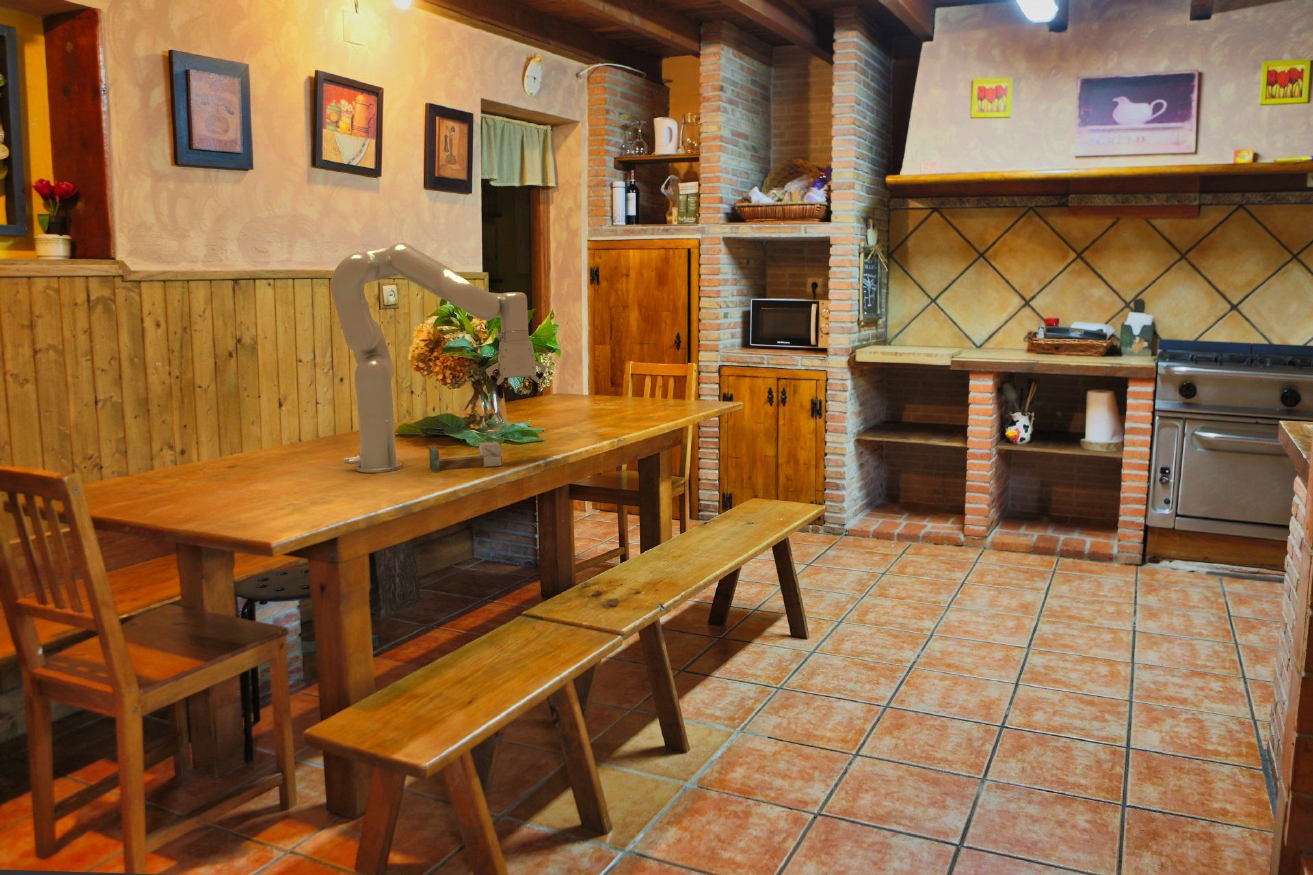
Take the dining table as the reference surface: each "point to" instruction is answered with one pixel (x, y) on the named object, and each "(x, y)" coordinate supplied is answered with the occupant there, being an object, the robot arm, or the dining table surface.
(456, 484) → the dining table surface
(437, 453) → the rail
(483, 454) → the keeper
